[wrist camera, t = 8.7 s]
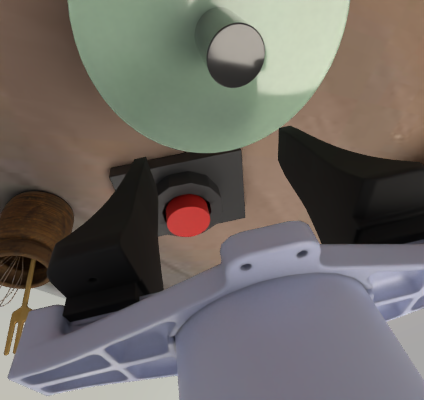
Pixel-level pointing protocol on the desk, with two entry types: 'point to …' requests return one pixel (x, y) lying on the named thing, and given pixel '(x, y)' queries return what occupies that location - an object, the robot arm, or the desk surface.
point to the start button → (187, 215)
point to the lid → (207, 64)
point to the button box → (197, 183)
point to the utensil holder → (29, 246)
